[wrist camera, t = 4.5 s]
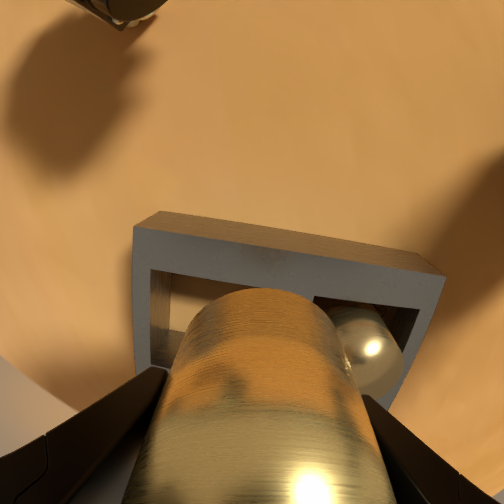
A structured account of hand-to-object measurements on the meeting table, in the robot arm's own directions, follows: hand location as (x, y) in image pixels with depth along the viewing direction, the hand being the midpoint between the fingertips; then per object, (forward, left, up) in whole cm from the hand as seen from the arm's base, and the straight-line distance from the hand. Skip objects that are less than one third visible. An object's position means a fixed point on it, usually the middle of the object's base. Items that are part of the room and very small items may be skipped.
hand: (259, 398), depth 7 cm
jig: (-1, +4, -12) cm, 13 cm away
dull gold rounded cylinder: (-5, +4, -12) cm, 14 cm away
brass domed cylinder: (0, 0, -2) cm, 2 cm away
